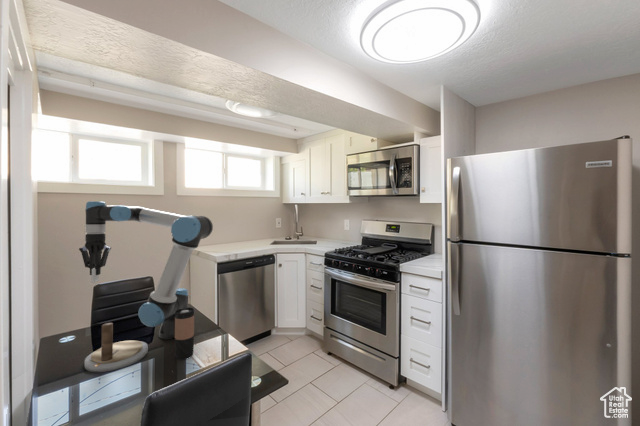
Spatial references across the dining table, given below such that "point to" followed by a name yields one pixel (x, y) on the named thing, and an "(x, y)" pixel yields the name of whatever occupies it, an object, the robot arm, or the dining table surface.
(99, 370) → the base
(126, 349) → the dial
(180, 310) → the travel mug
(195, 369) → the dining table surface
